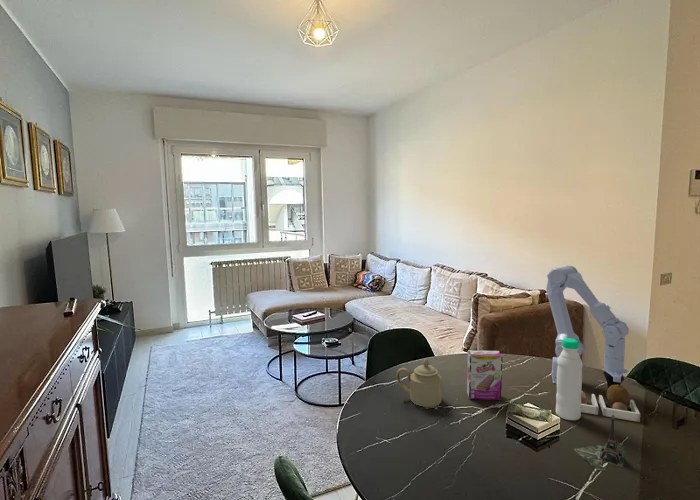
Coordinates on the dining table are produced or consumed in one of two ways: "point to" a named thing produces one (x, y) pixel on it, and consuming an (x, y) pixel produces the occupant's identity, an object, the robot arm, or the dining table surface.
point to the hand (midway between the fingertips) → (612, 393)
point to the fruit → (617, 394)
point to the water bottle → (569, 381)
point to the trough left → (590, 407)
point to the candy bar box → (484, 375)
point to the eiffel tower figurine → (604, 452)
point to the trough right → (620, 411)
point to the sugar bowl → (423, 385)
